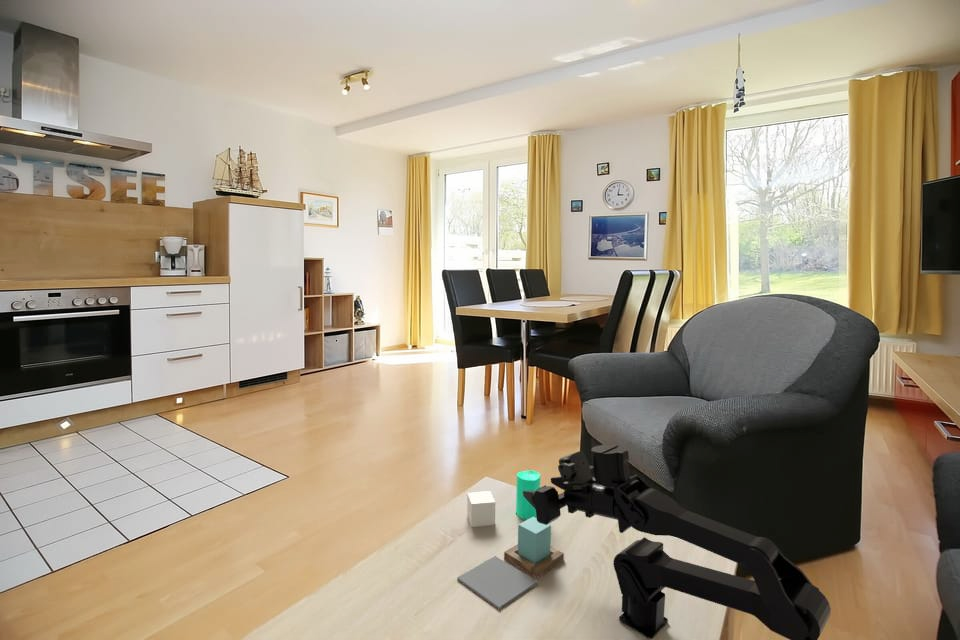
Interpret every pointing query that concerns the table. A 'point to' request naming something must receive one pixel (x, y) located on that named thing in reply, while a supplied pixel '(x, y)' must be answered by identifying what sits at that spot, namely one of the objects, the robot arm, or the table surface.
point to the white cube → (480, 508)
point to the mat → (497, 582)
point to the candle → (526, 483)
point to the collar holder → (531, 567)
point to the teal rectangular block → (534, 540)
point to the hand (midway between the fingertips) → (537, 486)
